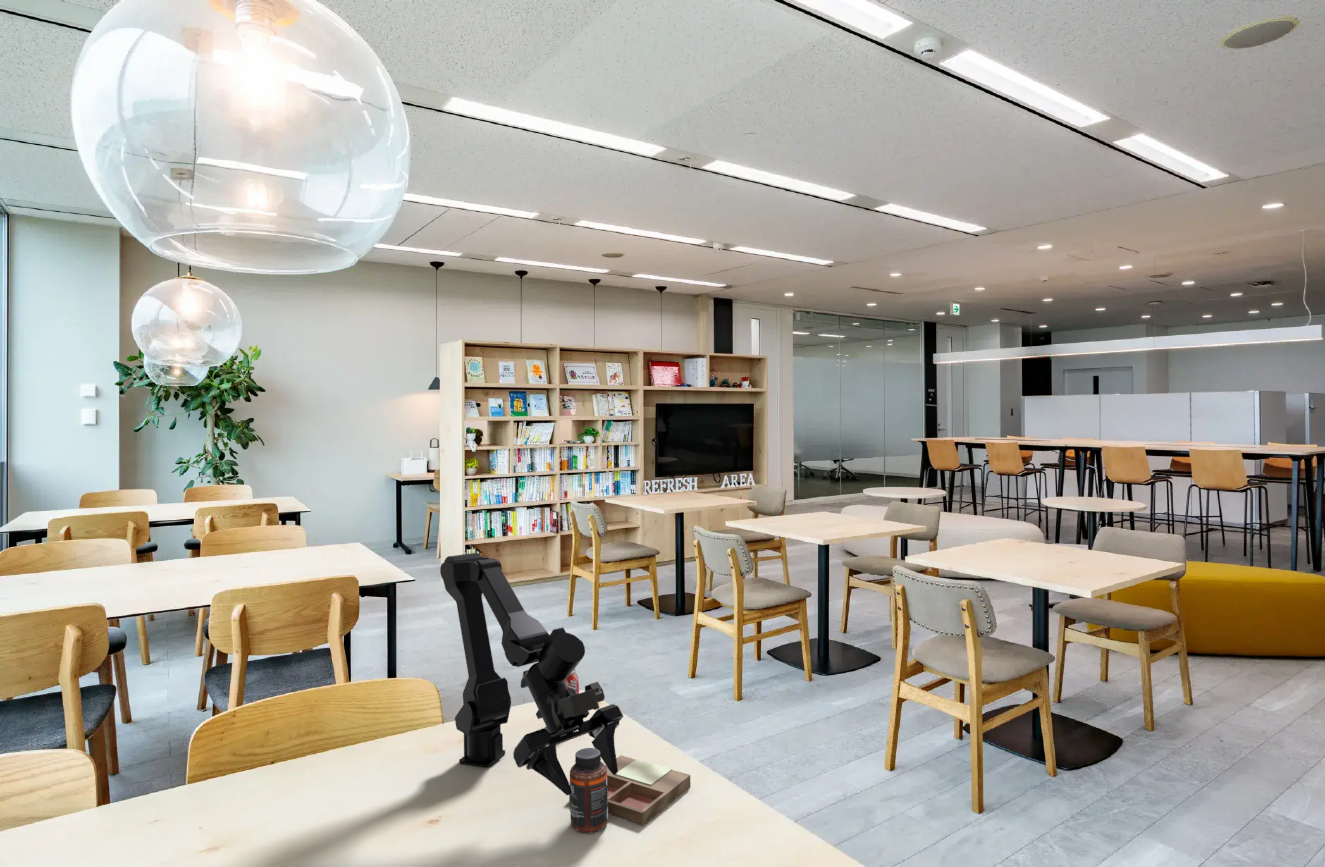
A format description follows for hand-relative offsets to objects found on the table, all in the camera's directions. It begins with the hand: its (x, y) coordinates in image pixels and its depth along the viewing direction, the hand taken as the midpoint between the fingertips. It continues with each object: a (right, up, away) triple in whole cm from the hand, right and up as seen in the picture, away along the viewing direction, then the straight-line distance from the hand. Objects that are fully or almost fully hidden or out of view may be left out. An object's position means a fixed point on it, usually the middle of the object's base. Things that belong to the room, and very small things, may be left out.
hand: (593, 783), depth 112 cm
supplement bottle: (-1, -7, +1) cm, 7 cm away
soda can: (-10, -8, +39) cm, 41 cm away
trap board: (+5, -7, +10) cm, 14 cm away
